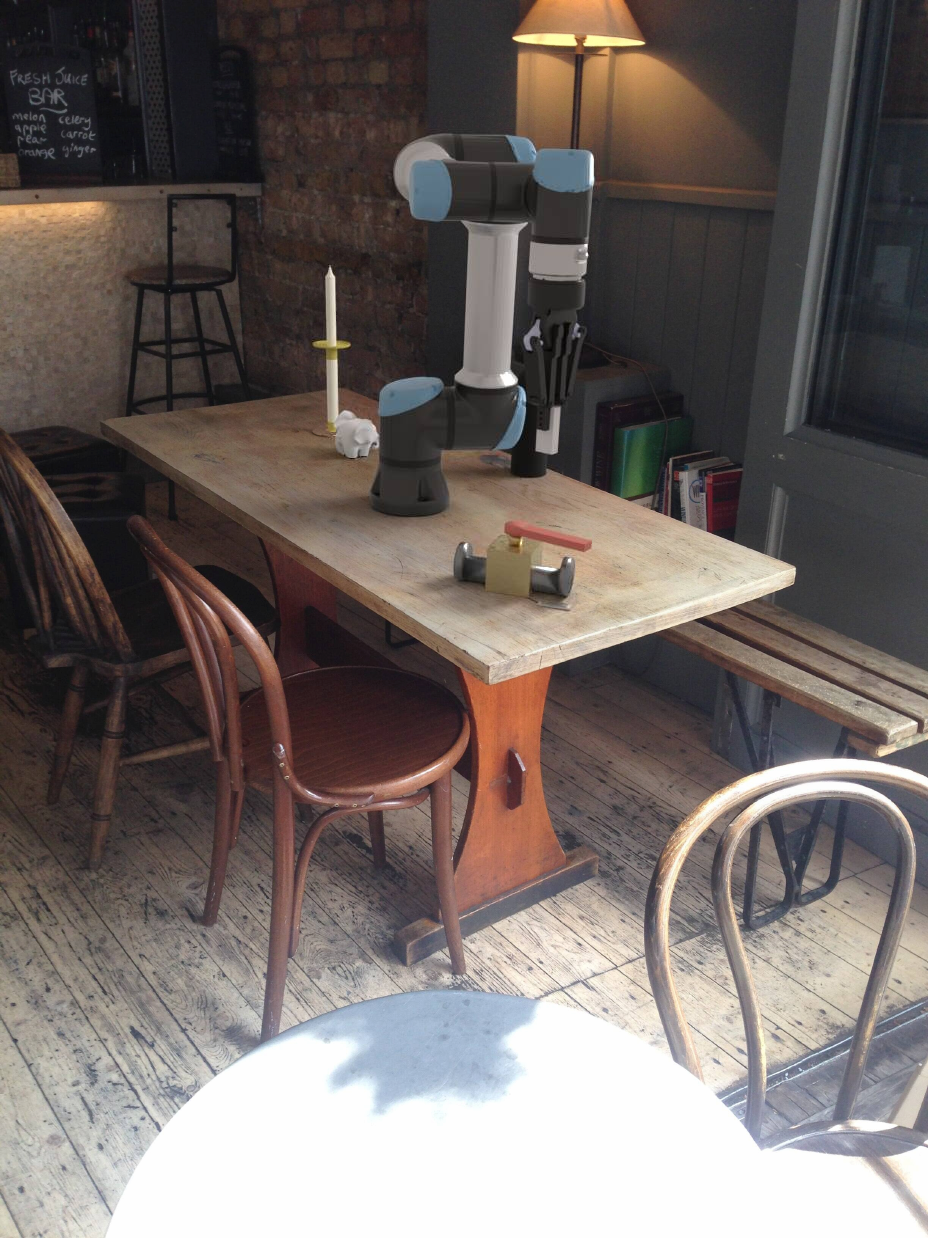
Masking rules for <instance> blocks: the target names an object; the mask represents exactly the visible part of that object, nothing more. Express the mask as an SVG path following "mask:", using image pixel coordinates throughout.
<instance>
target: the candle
mask: <svg viewBox="0 0 928 1238" xmlns="http://www.w3.org/2000/svg"><path fill="white" fill-rule="evenodd" d="M336 311H337V307H336V276H335V275H334V273H333V270H332V267H331V266H329V267H328V272H327V274H326V275H325V318H326V319H325V320H326V321H325V322H326V340H317V341H314V342H312V346H313V347H314V348H317V349H318V348H319V349H325V351H326V353H325V358H326V359H325V360H326V397H327V398H326V403H327V404H326V405H327V407H326V408H327V426H328V429H327V430H326V431H330V432H336V430H335V427H334V423H335V421H336V419H337V417H338V416H339V388H338V387H339V385H338V384H339V383H338V382H339V381H338V373H339V372H338V349H345V348H349V347H350V346H351V342H349V341H345V340H337V321H336V319H337V318H336V316H337V315H336V314H337V313H336Z"/></svg>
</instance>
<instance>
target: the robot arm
mask: <svg viewBox="0 0 928 1238" xmlns="http://www.w3.org/2000/svg"><path fill="white" fill-rule="evenodd" d="M594 163H595V161H594V155H593V153H592V152H591V151H590V150H587V149H572V148H571V149H570V148H566V149H564V148H563V149H562V148H541V149H539V150H538V151H537V150H536V147H535V146H534V144H533V143H532V141H531V140H530V139H529V138H527V137H522V136H518V135H517V136H516V135H509V134H466V133H464V134H463V133H462V134H459V133H438V134H430V135H427V136H425V137H421V138H419V139H416V140H413V141H412V142H410V143H408V144H407V145H406V146H404V147H403V148H402V149H401V150H400V152H399V153H398V155H397V156H396V159H395V161H394V165H393V171H392V172H393V180H394V185H395V187H396V189H397V190H398V192H399V193H400V195H401V196H402V197H403V198H404V199H406V200H407V202H409V204H408V205H409V209H410V213H411V215H412V217H413V218H414V219H416V220H422V221H431V222H443V221H444V222H448V221H449V222H450V221H451V222H452V221H453V222H457V221H459V222H461V223H462V224H463V225H464V226H465V228H467V230H468V242H467V243H468V245H467V246H468V247H467V250H468V251H467V267H466V270H467V271H466V289H465V290H466V292H465V293H466V294H465V296H466V297H465V313H464V314H465V317H464V342H463V343H464V344H463V365H462V368H461V369H460V370H459V371H458V372H457V373H456V374H454V382H453V383H454V384H453V386H445V385H444V382H443V381H442V379H440V378H439V377H434V376H429V377H427V376H417V377H409V378H403V379H398V380H395V381H393V382H390V383H387V384H386V385H385V386H384V387H383V388H382V389H381V390H380V392H379V397H378V398H379V400H378V401H379V402H378V410H377V415H378V417H379V418H378V422H379V423H378V425H379V427H378V428H379V429H378V435H379V447H378V466H377V469H376V472H375V475H374V478H373V480H372V481H373V482H372V484H371V488H370V491H369V505H370V507H371V508H373V509H374V510H376V511H378V512H381V513H385V514H387V515H388V514H389V515H394V516H403V517H407V516H408V517H412V516H413V517H414V516H416V517H418V516H427V515H433V514H437V513H441V512H443V511H445V510H447V508H450V507H449V506H450V496H451V495H450V491H449V487H448V483H447V481H446V477H445V475H444V471H443V467H442V452H443V451H490V452H494V451H495V450H497V451H498V450H509V449H512V447H513V446H514V445H515V444H516V443H517V441H518V440H519V438H520V436H521V433H522V429H523V425H524V420H525V413H526V407H525V404H526V395H525V391H524V389H523V388H522V387H520V386H517V384H518V378H517V375H515V374H514V372H513V371H512V369H511V365H512V364H511V360H512V346H513V344H512V343H513V329H514V328H513V327H514V312H515V309H514V308H515V293H516V279H517V278H516V276H517V261H518V249H519V248H518V246H519V233H520V232H521V231H522V229H523V228H525V227H526V226H527V225H528V223H531V233H530V234H531V235H530V244H529V246H530V247H529V260H528V261H529V263H528V272H529V273H530V274H532V276H531V277H530V278H529V279H528V283H527V284H528V285H527V305H528V306H529V307H530V308H532V309H533V317H532V319H531V322H530V323H531V325H530V326H531V327H532V329H531V330H530V331H529V330H528V333H527V334H524V333H521V334H520V335H519V338H518V342H519V345H520V347H521V351H522V357H523V368H524V369H525V380H526V391H527V401H528V402H529V403H531V404H532V405H536V406H537V423H536V427H537V436H536V451H538V452H542V453H547V455H554V454H557V453H558V450H559V449H558V448H559V436H560V435H559V434H560V433H559V432H560V425H561V417H562V416H561V414H562V406H564V407H567V406H569V404H570V400H566V399H571V398H572V395H573V391H574V386H575V380H576V377H577V376H576V375H577V370H578V366H579V361H580V356H581V355H580V354H581V350H582V345H583V342H584V340H585V337H586V335H587V332H588V330H587V327H586V326H583V325H581V326H580V324H579V323H577V322H578V315H577V311H578V310H581V309H582V308H584V305H585V297H586V284H587V282H586V281H585V279H583V278H582V276H584V275H585V274H587V264H588V258H589V254H588V248H589V247H588V245H589V238H590V226H591V213H592V200H593V190H594V189H593V186H594V184H595V176H594V171H595V168H594ZM524 369H523V370H524Z"/></svg>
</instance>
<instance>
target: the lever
mask: <svg viewBox="0 0 928 1238" xmlns="http://www.w3.org/2000/svg"><path fill="white" fill-rule="evenodd" d="M503 532H504V534H505V535H508V536H509V535H511V536H522V538H529V539H534V540H538V541H542V542H543V543H546V544H549V545H554V546H559V547H561V548H565V549H570V550H575V551H578V552H582V553H586V552H588V551H589V550H591V549H592V545H593V544H592V543H593V540H591V539H587V538H585V537H584V538H583V537H579V536H575V535H570V534H567V533H562V532H558V531H555V530H550V529H547V528H542V527H538V526H534V525H530V524H528V523H527V522H524V521H519V520H512V521H511V520H510V521H506V522H505V523H504V530H503Z"/></svg>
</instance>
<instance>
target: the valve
mask: <svg viewBox="0 0 928 1238" xmlns="http://www.w3.org/2000/svg"><path fill="white" fill-rule="evenodd" d="M543 548H544V542H542V541H538V540H534V539H530V538H526V537H522V536H511V535H507V534H499V535H498V536H497V537H496V538H495V539H494V540H493V542H491V544H490V545H488V547H487V548H486V556H477V555H474V554H473V553H474V550H473V545H472V543H471V542H469V541H460V542H459V543H458V545H457V547H456V550H455V553H454V557H453V558H454V559H453V570H452V571H453V576H454V579H456V580H460V581H469V582H470V581H471V582H477V583H483V584H485V589H484V591H485V592H489V593H495V594H503V595H508V596H516V597H521V598H527V599H530V597H531V596H532V594H533V593H534V591H535V592H540V593H541V592H542V593H548V594H555V595H559V596H563V597H569V596H570V594H571V592H572V589H573V585H574V580H575V574H576V560H575V558H574V557H571V556H564V557H563V558H562V561H561V564H560V568H559V567H552V566H547V565H543V550H544V549H543ZM536 605H537V606H539V607H547V608H552V609H553V608H554V609H558V610H564V611H565V610H566V611H571V609H572V607H573V604H572V603H571V604H570V603H563V602H558V601H552V600H551V601H550V600H547V599H546V600H545V599H544V600H543V599H539V600H538V602H537V603H536Z"/></svg>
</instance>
